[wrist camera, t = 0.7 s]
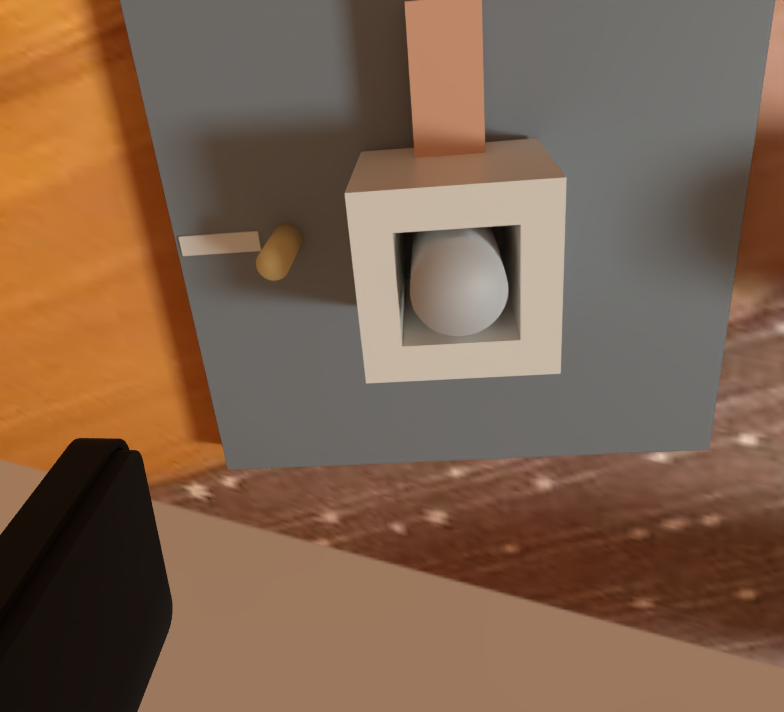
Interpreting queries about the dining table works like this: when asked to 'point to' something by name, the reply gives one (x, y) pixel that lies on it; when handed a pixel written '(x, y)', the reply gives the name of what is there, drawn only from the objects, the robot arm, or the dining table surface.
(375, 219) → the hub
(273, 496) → the dining table surface
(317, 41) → the board
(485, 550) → the dining table surface
